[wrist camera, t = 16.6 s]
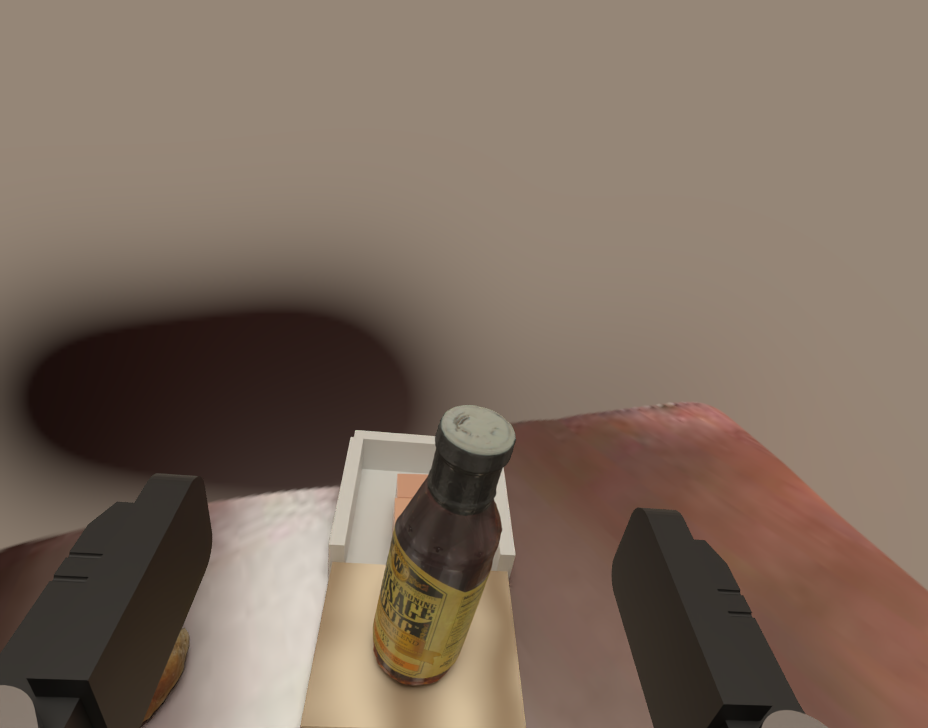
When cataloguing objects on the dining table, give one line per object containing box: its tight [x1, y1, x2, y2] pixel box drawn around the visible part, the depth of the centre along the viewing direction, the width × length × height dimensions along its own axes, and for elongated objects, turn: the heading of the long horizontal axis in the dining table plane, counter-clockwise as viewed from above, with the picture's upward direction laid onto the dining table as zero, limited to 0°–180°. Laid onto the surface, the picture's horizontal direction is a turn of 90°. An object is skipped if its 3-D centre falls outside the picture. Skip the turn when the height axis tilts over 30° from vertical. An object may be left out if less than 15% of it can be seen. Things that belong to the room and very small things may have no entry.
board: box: [300, 562, 526, 728], centre depth 41 cm, size 14×12×2 cm
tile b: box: [395, 474, 428, 498], centre depth 50 cm, size 4×4×3 cm
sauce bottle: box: [373, 405, 516, 686], centre depth 34 cm, size 7×6×20 cm
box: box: [328, 430, 515, 582], centre depth 51 cm, size 15×14×4 cm
